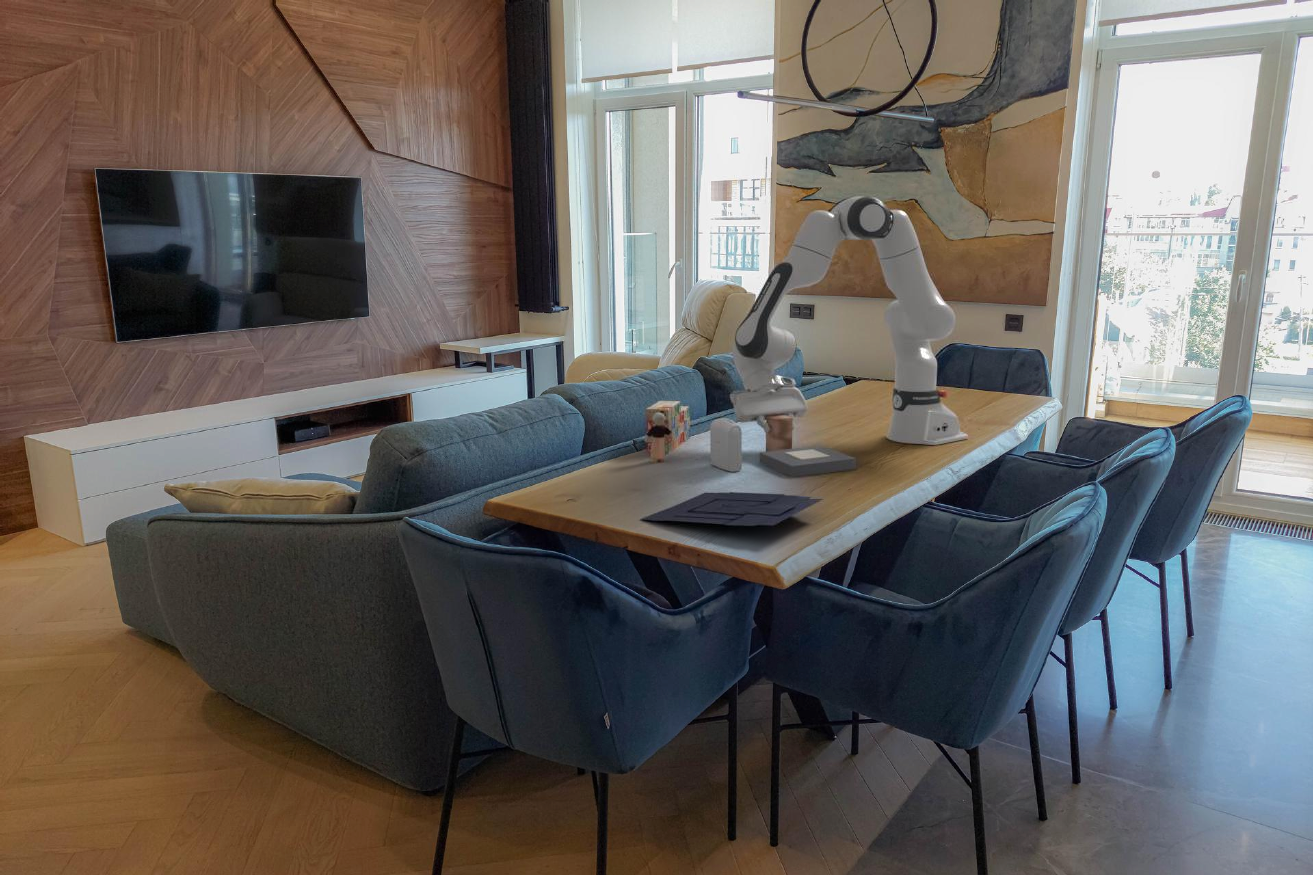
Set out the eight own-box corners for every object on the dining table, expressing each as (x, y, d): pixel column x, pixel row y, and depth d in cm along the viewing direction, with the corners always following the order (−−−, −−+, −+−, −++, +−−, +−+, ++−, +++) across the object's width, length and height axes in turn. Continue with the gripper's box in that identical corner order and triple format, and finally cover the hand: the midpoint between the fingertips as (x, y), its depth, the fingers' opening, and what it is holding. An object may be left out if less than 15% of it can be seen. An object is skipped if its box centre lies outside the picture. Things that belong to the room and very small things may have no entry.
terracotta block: (782, 451, 237) (782, 414, 235) (791, 455, 232) (792, 417, 230) (765, 453, 235) (766, 416, 233) (775, 457, 230) (775, 419, 228)
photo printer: (708, 464, 224) (707, 416, 221) (722, 462, 226) (722, 414, 223) (728, 473, 215) (728, 423, 212) (744, 471, 217) (744, 421, 214)
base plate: (820, 455, 231) (820, 444, 231) (856, 469, 217) (856, 457, 216) (759, 462, 225) (759, 451, 224) (792, 477, 210) (792, 464, 210)
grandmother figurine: (651, 464, 225) (650, 415, 222) (643, 461, 228) (642, 412, 225) (676, 459, 229) (675, 411, 226) (667, 457, 232) (667, 409, 230)
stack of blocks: (669, 436, 258) (669, 395, 255) (690, 437, 256) (690, 395, 253) (646, 453, 238) (645, 407, 235) (668, 454, 236) (668, 408, 233)
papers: (769, 542, 161) (767, 523, 160) (640, 532, 179) (638, 515, 179) (829, 510, 180) (828, 492, 179) (707, 504, 198) (705, 488, 198)
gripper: (731, 384, 232) (749, 427, 225) (799, 378, 240) (818, 420, 233) (724, 398, 237) (740, 441, 230) (790, 392, 245) (808, 434, 238)
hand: (780, 430), depth 232 cm, fingers closed on terracotta block, 5 cm apart
